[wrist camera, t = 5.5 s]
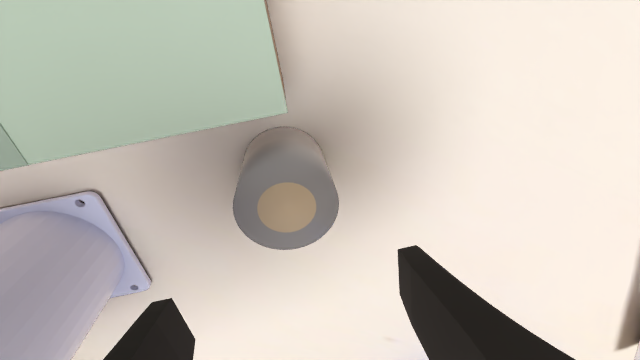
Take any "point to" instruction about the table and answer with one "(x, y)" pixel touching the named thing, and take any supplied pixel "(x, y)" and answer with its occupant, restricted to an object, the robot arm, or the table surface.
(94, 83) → the lid
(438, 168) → the table surface
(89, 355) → the table surface
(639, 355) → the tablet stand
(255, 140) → the tan-topped grey cylinder
